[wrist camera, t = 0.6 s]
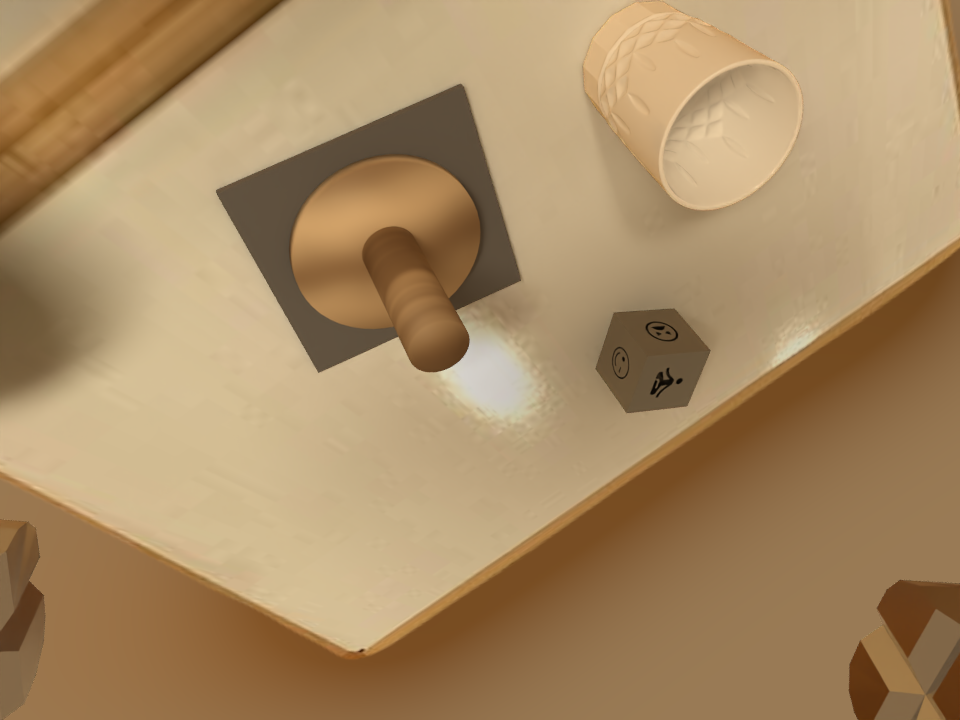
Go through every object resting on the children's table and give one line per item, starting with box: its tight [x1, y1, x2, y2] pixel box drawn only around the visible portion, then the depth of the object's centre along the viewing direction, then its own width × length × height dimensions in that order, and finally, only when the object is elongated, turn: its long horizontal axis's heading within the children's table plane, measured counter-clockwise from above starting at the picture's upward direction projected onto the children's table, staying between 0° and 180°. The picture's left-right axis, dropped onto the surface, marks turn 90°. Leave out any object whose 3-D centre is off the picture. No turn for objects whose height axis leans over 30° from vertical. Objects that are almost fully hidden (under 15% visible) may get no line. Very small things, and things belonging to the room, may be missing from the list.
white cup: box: [583, 1, 803, 211], centre depth 47 cm, size 8×8×10 cm
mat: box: [216, 84, 521, 373], centre depth 52 cm, size 14×14×1 cm
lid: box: [289, 154, 480, 372], centre depth 49 cm, size 11×11×10 cm
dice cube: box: [596, 309, 710, 413], centre depth 64 cm, size 5×5×5 cm
